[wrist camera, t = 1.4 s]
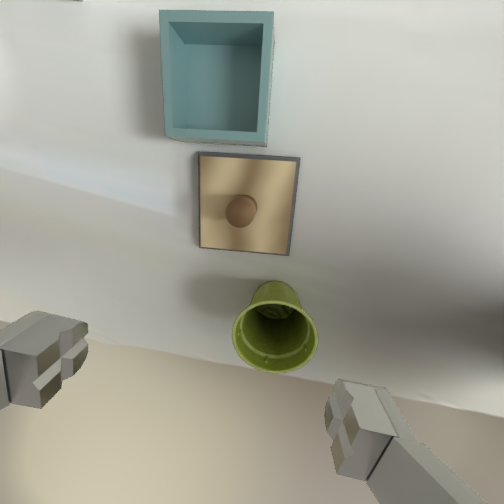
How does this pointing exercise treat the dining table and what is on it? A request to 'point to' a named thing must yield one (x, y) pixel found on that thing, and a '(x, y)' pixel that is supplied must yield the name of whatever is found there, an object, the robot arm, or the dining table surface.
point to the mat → (261, 157)
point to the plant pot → (275, 331)
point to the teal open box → (217, 75)
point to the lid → (245, 203)
